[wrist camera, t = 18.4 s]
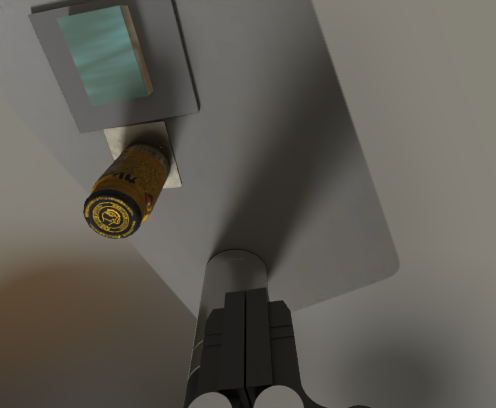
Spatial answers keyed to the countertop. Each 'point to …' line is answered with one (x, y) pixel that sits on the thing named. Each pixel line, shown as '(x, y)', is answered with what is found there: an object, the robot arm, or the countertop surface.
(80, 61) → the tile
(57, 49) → the mat
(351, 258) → the countertop surface
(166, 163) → the condiment
